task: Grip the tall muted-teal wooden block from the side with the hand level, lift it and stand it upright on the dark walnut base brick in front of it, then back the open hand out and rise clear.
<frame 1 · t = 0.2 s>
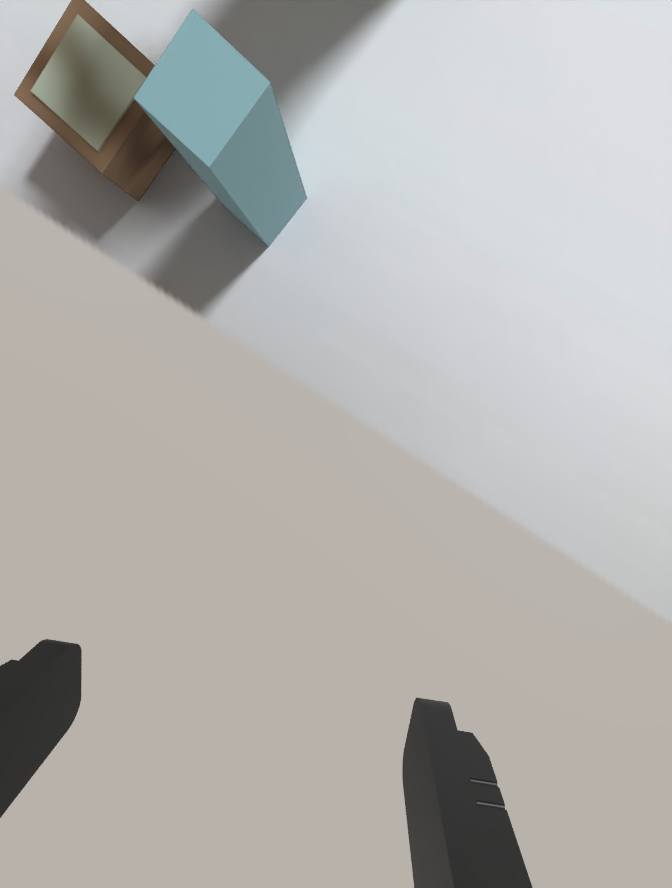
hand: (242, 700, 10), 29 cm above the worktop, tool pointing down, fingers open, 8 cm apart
teal block: (264, 201, 35), on the worktop
walnut base: (128, 126, 34), on the worktop
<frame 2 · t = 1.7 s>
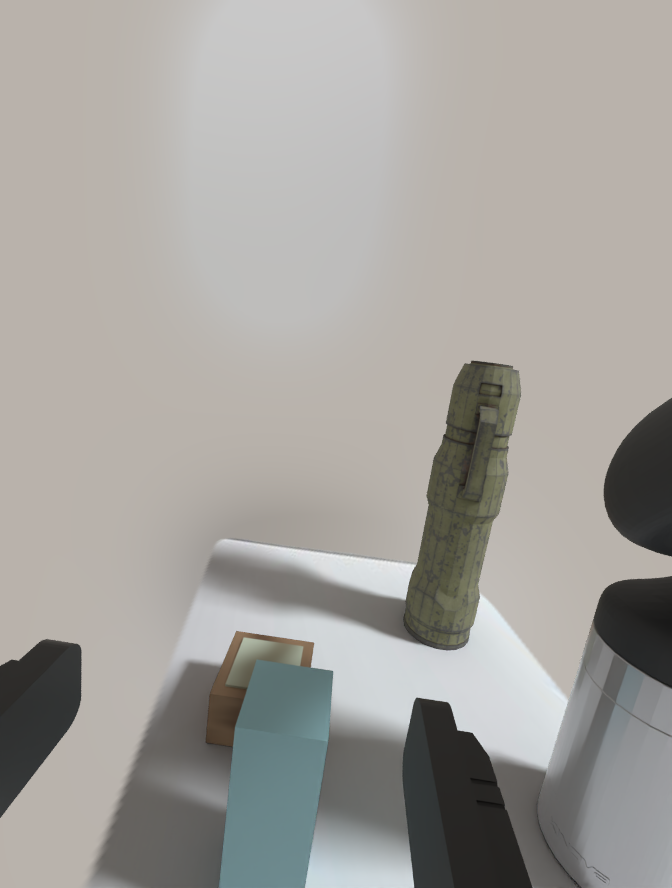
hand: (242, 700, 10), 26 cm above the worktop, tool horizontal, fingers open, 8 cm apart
thermos: (435, 628, 56), on the worktop
teal block: (265, 873, 28), on the worktop
walnut base: (261, 710, 40), on the worktop
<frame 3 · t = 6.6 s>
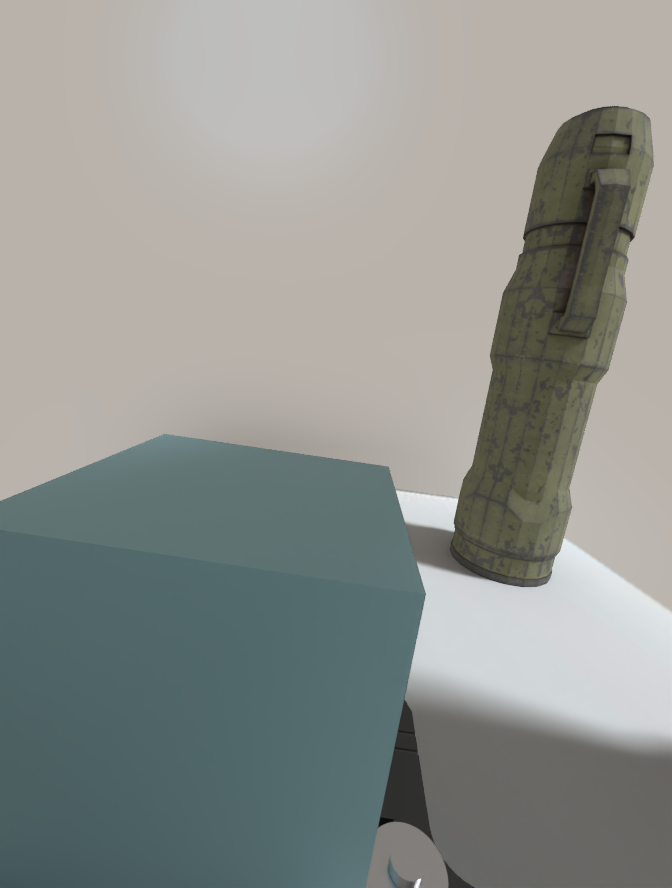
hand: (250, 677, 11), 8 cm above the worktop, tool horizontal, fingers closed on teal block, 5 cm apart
thermos: (498, 562, 38), on the worktop
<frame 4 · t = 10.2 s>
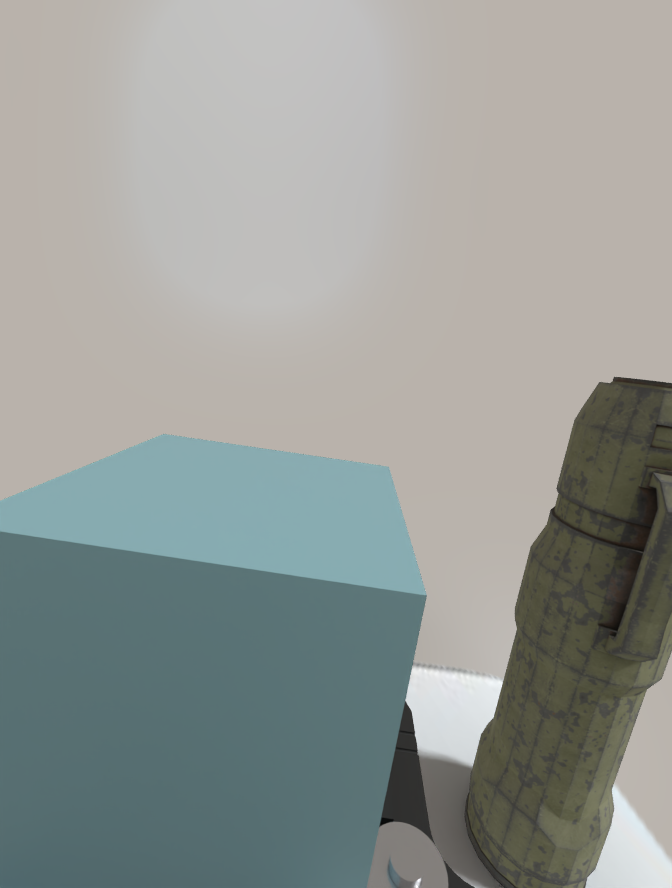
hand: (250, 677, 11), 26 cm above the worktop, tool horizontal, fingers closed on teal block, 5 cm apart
thermos: (522, 840, 32), on the worktop
when the fingers open (14 cm above the worktop, at t = 13.8 s): teal block drops 1 cm, resting on walnut base.
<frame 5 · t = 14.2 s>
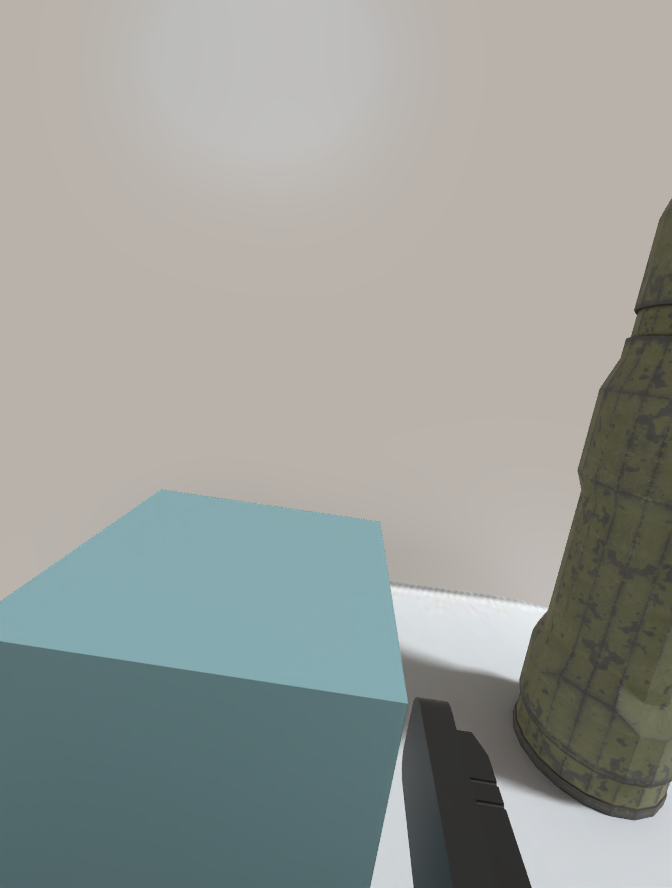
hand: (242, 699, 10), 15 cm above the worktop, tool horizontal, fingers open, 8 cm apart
thermos: (582, 750, 27), on the worktop
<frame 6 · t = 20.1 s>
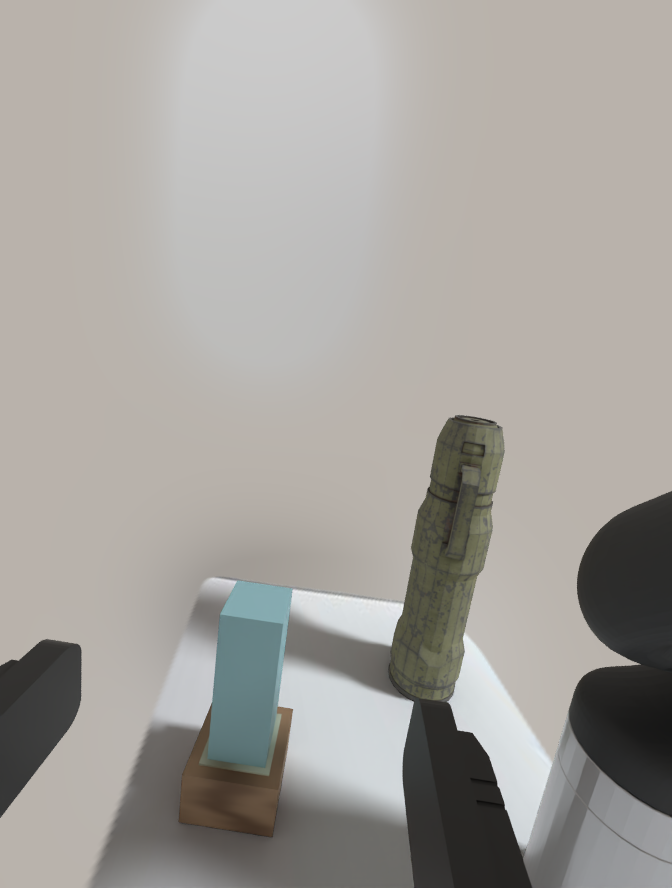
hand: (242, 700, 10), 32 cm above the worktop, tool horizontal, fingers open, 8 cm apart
thermos: (420, 679, 55), on the worktop
teal block: (243, 737, 38), point 5 cm above the worktop, touching walnut base
walnut base: (238, 782, 39), on the worktop
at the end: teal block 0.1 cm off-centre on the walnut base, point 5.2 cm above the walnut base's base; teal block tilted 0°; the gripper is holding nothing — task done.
